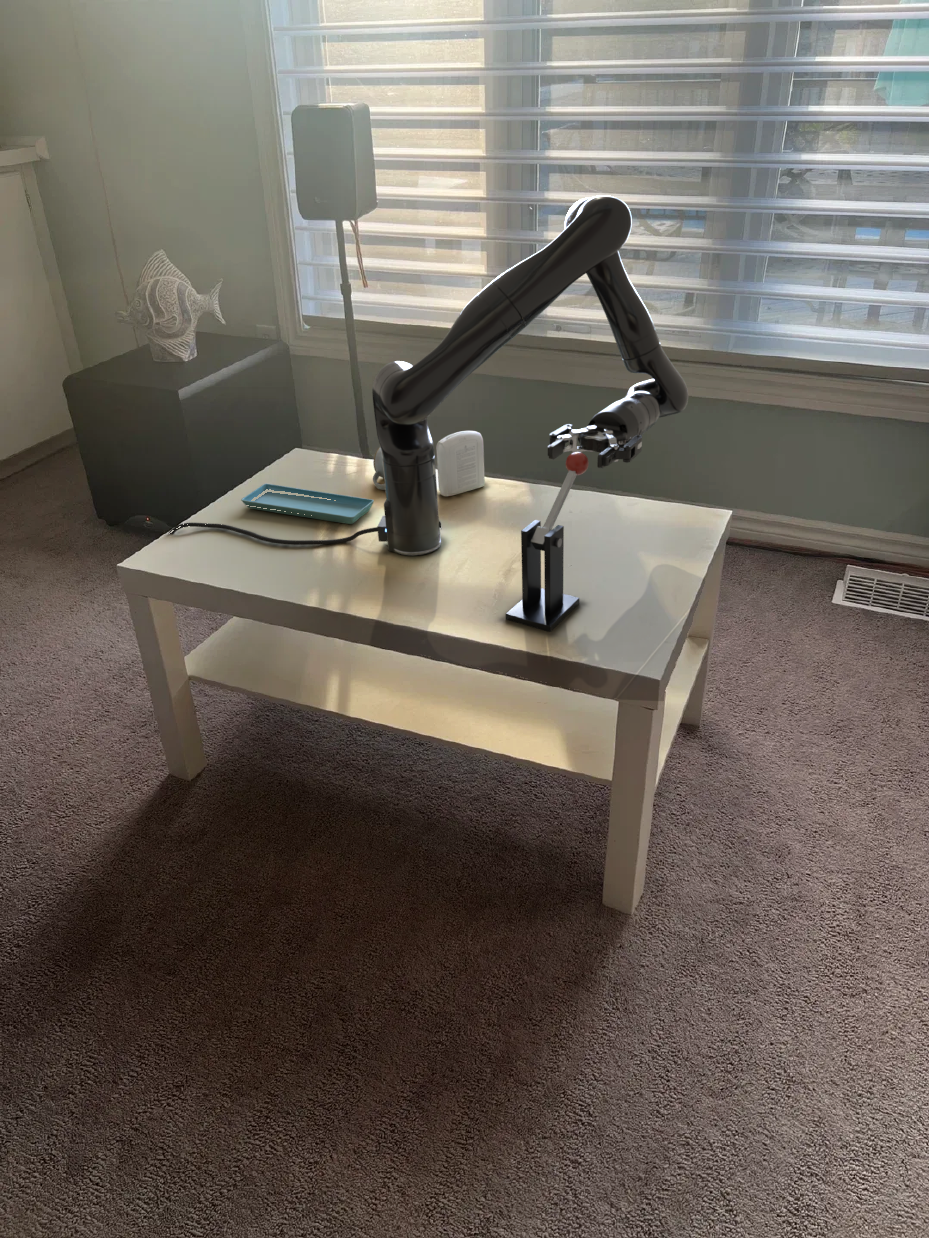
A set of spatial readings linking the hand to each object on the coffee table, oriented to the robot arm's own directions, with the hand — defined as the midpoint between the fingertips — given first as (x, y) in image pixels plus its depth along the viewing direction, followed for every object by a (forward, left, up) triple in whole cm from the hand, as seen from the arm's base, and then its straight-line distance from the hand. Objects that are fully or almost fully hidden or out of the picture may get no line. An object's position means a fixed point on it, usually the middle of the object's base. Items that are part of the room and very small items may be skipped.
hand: (574, 457), depth 143 cm
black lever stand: (-4, -9, -22) cm, 25 cm away
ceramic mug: (-39, +44, -23) cm, 63 cm away
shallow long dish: (-54, +29, -23) cm, 65 cm away
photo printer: (-24, +40, -23) cm, 52 cm away
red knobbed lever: (-1, -3, -7) cm, 8 cm away
